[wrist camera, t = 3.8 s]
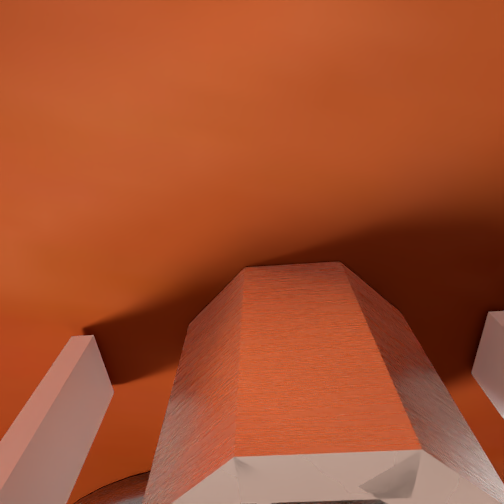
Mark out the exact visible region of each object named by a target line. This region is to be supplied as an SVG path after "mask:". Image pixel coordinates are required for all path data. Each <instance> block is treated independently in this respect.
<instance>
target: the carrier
mask: <svg viewBox="0 0 504 504" xmlns="http://www.w3.org/2000/svg"><path fill="white" fill-rule="evenodd" d="M149 475H150V472H148V473H144V474H140V475H137V476H133V477H129V478H126V479H124V480H121V481H118V482H116V483H113V484H110V485H108V486H105V487H103V488H100V489H99V490H97V491H95V492H93V493H91V494H89V495H87V496H85V497H84V498H82V499H80V500H78V501H77V502H76V503H74V504H142V502H143V498H144V495H145V491H146V487H147V483H148V479H149Z"/></svg>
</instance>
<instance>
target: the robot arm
mask: <svg viewBox="0 0 504 504" xmlns="http://www.w3.org/2000/svg"><path fill="white" fill-rule="evenodd" d="M471 374H472V375H473V377H474V378H475V379H476V381H477V382H478V384H479V385H480V387H481V388H482V389H483V391H484V392H485V394H486V395H487V396H488V398H489V399H490V401H491V402H492V403H493V405H494V406H495V408H496V409H497V410H498V412H499V413H500V415H501V416H502V417H503V419H504V311H493V312H488V315H487V318H486V322H485V326H484V329H483V333H482V336H481V340H480V344H479V347H478V351H477V354H476V358H475V361H474V365H473V369H472V372H471ZM113 394H114V390H113V387H112V385H111V382H110V379H109V376H108V374H107V371H106V368H105V365H104V362H103V360H102V357H101V354H100V351H99V349H98V346H97V343H96V340H95V337H94V335H85V336H72V337H71V338H70V340H69V341H68V342H67V344H66V345H65V347H64V348H63V350H62V351H61V353H60V354H59V356H58V357H57V359H56V360H55V362H54V363H53V365H52V366H51V368H50V369H49V371H48V372H47V373H46V375H45V376H44V378H43V379H42V381H41V382H40V384H39V385H38V387H37V388H36V390H35V391H34V393H33V394H32V396H31V397H30V399H29V400H28V402H27V403H26V404H25V406H24V407H23V409H22V410H21V412H20V413H19V415H18V416H17V418H16V419H15V421H14V422H13V424H12V425H11V427H10V428H9V430H8V431H7V433H6V434H5V435H4V437H3V438H2V440H1V441H0V504H66V503H67V501H68V498H69V496H70V494H71V491H72V489H73V487H74V485H75V482H76V480H77V478H78V475H79V473H80V471H81V468H82V466H83V464H84V461H85V459H86V457H87V454H88V452H89V450H90V447H91V445H92V443H93V440H94V438H95V436H96V433H97V431H98V429H99V426H100V424H101V422H102V419H103V417H104V415H105V412H106V410H107V408H108V405H109V403H110V401H111V398H112V396H113Z"/></svg>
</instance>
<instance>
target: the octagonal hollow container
mask: <svg viewBox="0 0 504 504" xmlns="http://www.w3.org/2000/svg"><path fill="white" fill-rule="evenodd" d="M142 504H504V484H503V483H502V481H501V479H500V478H499V476H498V474H497V472H496V471H495V469H494V467H493V466H492V464H491V462H490V461H489V459H488V457H487V456H486V454H485V452H484V451H483V449H482V447H481V446H480V444H479V442H478V441H477V439H476V437H475V436H474V434H473V432H472V431H471V429H470V427H469V426H468V424H467V422H466V420H465V419H464V417H463V415H462V414H461V412H460V410H459V409H458V407H457V405H456V404H455V402H454V400H453V399H452V397H451V395H450V394H449V392H448V390H447V389H446V387H445V385H444V384H443V382H442V380H441V379H440V377H439V375H438V374H437V372H436V370H435V368H434V367H433V365H432V363H431V362H430V360H429V358H428V357H427V355H426V353H425V352H424V350H423V348H422V347H421V345H420V343H419V342H418V340H417V338H416V337H415V335H414V333H413V332H412V330H411V328H410V327H409V325H408V323H407V322H406V320H405V318H404V317H403V315H402V313H401V312H400V311H399V310H398V309H396V308H395V307H394V306H393V305H392V304H390V303H389V302H388V301H387V300H386V299H384V298H383V297H382V296H381V295H380V294H378V293H377V292H376V291H375V290H374V289H372V288H371V287H370V286H369V285H368V284H367V283H365V282H364V281H363V280H362V279H361V278H359V277H358V276H357V275H356V274H355V273H353V272H352V271H351V270H350V269H349V268H347V267H346V266H345V265H344V264H343V263H341V262H340V261H337V262H321V263H305V264H289V265H273V266H257V267H244V268H243V270H242V271H241V272H240V273H239V274H238V275H237V276H236V277H235V278H234V279H233V280H232V281H231V282H230V283H229V284H228V285H227V286H226V287H225V288H224V289H223V290H222V291H221V292H220V293H219V294H218V295H217V296H216V297H215V298H214V299H213V300H212V301H211V302H210V303H209V304H208V305H207V306H206V307H205V308H204V309H203V310H202V311H201V312H200V313H199V314H198V315H197V317H196V318H195V319H194V320H193V321H192V322H191V323H190V324H189V326H188V330H187V334H186V338H185V341H184V345H183V349H182V353H181V357H180V361H179V364H178V368H177V372H176V376H175V380H174V384H173V387H172V391H171V395H170V399H169V403H168V407H167V410H166V414H165V418H164V422H163V426H162V429H161V433H160V437H159V441H158V445H157V449H156V452H155V456H154V460H153V464H152V468H151V472H150V475H149V479H148V483H147V487H146V491H145V495H144V498H143V502H142Z"/></svg>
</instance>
